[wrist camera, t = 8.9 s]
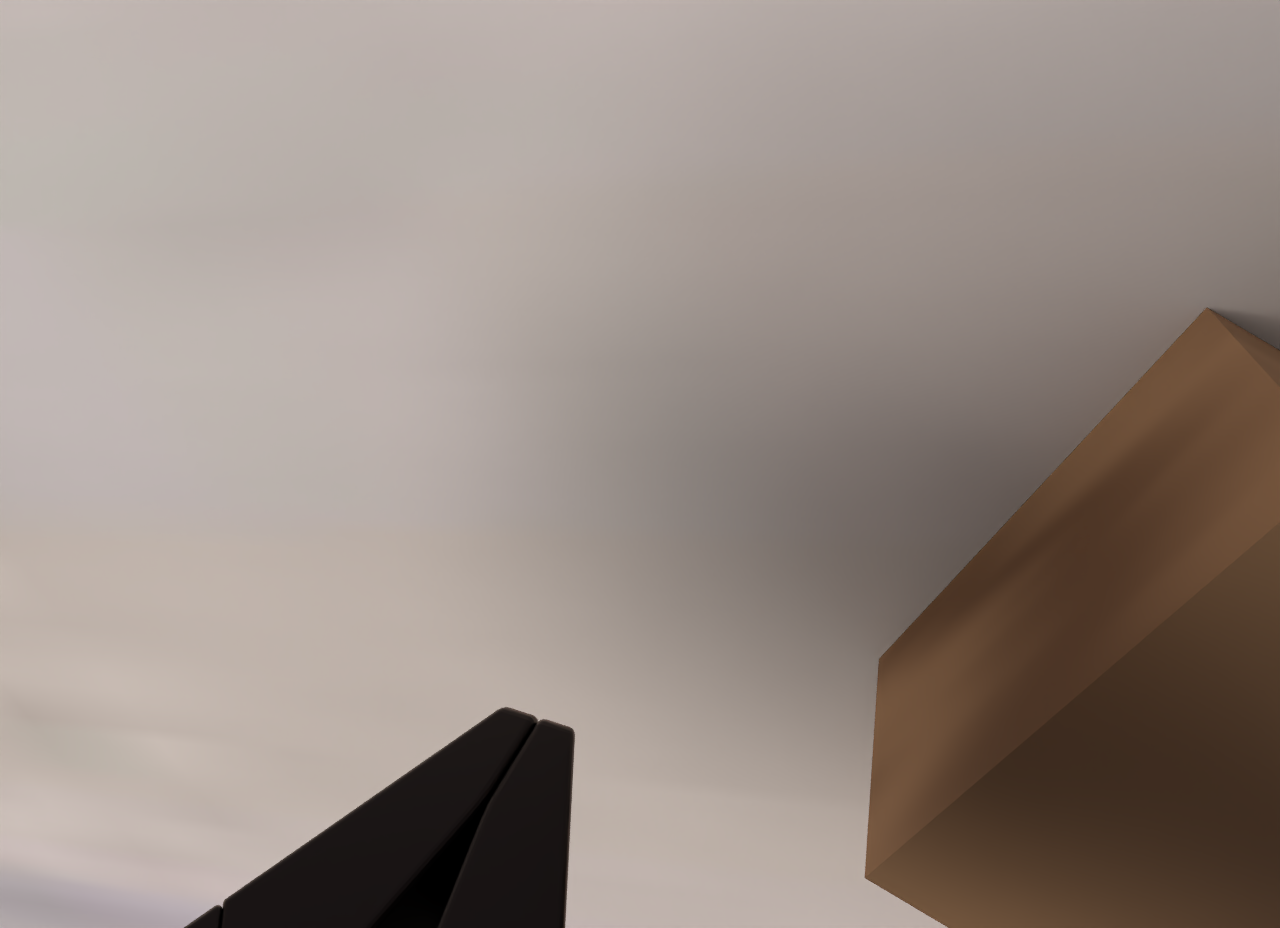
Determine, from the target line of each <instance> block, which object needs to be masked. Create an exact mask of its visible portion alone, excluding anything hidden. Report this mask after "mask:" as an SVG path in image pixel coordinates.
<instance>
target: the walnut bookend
mask: <svg viewBox="0 0 1280 928" xmlns="http://www.w3.org/2000/svg"><path fill="white" fill-rule="evenodd" d="M865 878H866V879H868V880H869V881H871V882H873V883H874V884H876V885H878V886H879V887H881V888H883V889H884V890H886V891H888V892H889V893H891V894H893V895H894V896H896V897H898V898H899V899H901V900H903V901H905V902H906V903H908V904H910V905H911V906H913V907H915V908H916V909H918V910H920V911H921V912H923V913H925V914H926V915H928V916H930V917H931V918H933V919H935V920H936V921H938V922H940V923H941V924H943V925H945V926H947V927H948V928H1280V350H1278V349H1276V348H1275V347H1273V346H1271V345H1269V344H1268V343H1266V342H1264V341H1263V340H1261V339H1259V338H1258V337H1256V336H1254V335H1253V334H1251V333H1249V332H1247V331H1246V330H1244V329H1242V328H1241V327H1239V326H1237V325H1236V324H1234V323H1232V322H1231V321H1229V320H1227V319H1225V318H1224V317H1222V316H1220V315H1219V314H1217V313H1215V312H1214V311H1212V310H1210V309H1209V308H1206V309H1205V310H1204V311H1203V312H1202V313H1201V314H1200V315H1199V317H1198V318H1197V319H1196V320H1195V321H1194V322H1193V323H1192V324H1191V325H1190V326H1189V327H1188V328H1187V329H1186V330H1185V332H1184V333H1183V334H1182V335H1181V336H1180V337H1179V338H1178V339H1177V340H1176V341H1175V342H1174V343H1173V344H1172V345H1171V347H1170V348H1169V349H1168V350H1167V351H1166V352H1165V353H1164V354H1163V355H1162V356H1161V357H1160V358H1159V359H1158V360H1157V362H1156V363H1155V364H1154V365H1153V366H1152V367H1151V368H1150V369H1149V370H1148V371H1147V372H1146V373H1145V374H1144V375H1143V377H1142V378H1141V379H1140V380H1139V381H1138V382H1137V383H1136V384H1135V385H1134V386H1133V387H1132V388H1131V389H1130V391H1129V392H1128V393H1127V394H1126V395H1125V396H1124V397H1123V398H1122V399H1121V400H1120V401H1119V402H1118V403H1117V404H1116V406H1115V407H1114V408H1113V409H1112V410H1111V411H1110V412H1109V413H1108V414H1107V415H1106V416H1105V417H1104V418H1103V419H1102V421H1101V422H1100V423H1099V424H1098V425H1097V426H1096V427H1095V428H1094V429H1093V430H1092V431H1091V432H1090V433H1089V434H1088V436H1087V437H1086V438H1085V439H1084V440H1083V441H1082V442H1081V443H1080V444H1079V445H1078V446H1077V447H1076V448H1075V449H1074V451H1073V452H1072V453H1071V454H1070V455H1069V456H1068V457H1067V458H1066V459H1065V460H1064V461H1063V462H1062V463H1061V465H1060V466H1059V467H1058V468H1057V469H1056V470H1055V471H1054V472H1053V473H1052V474H1051V475H1050V476H1049V477H1048V478H1047V480H1046V481H1045V482H1044V483H1043V484H1042V485H1041V486H1040V487H1039V488H1038V489H1037V490H1036V491H1035V492H1034V493H1033V495H1032V496H1031V497H1030V498H1029V499H1028V500H1027V501H1026V502H1025V503H1024V504H1023V505H1022V506H1021V507H1020V508H1019V510H1018V511H1017V512H1016V513H1015V514H1014V515H1013V516H1012V517H1011V518H1010V519H1009V520H1008V521H1007V522H1006V524H1005V525H1004V526H1003V527H1002V528H1001V529H1000V530H999V531H998V532H997V533H996V534H995V535H994V536H993V537H992V539H991V540H990V541H989V542H988V543H987V544H986V545H985V546H984V547H983V548H982V549H981V550H980V551H979V552H978V554H977V555H976V556H975V557H974V558H973V559H972V560H971V561H970V562H969V563H968V564H967V565H966V566H965V567H964V569H963V570H962V571H961V572H960V573H959V574H958V575H957V576H956V577H955V578H954V579H953V580H952V581H951V582H950V584H949V585H948V586H947V587H946V588H945V589H944V590H943V591H942V592H941V593H940V594H939V595H938V596H937V598H936V599H935V600H934V601H933V602H932V603H931V604H930V605H929V606H928V607H927V608H926V609H925V610H924V611H923V613H922V614H921V615H920V616H919V617H918V618H917V619H916V620H915V621H914V622H913V623H912V624H911V625H910V626H909V628H908V629H907V630H906V631H905V632H904V633H903V634H902V635H901V636H900V637H899V638H898V639H897V640H896V641H895V643H894V644H893V645H892V646H891V647H890V648H889V649H888V650H887V651H886V652H885V653H884V654H883V655H882V656H881V658H880V659H879V666H878V681H877V697H876V712H875V728H874V743H873V758H872V774H871V789H870V805H869V820H868V836H867V851H866V866H865Z"/></svg>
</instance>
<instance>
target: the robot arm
mask: <svg viewBox="0 0 1280 928" xmlns="http://www.w3.org/2000/svg"><path fill="white" fill-rule="evenodd" d="M574 743H575V732H574V730H573V729H572V728H570V727H568V726H565V725H562V724H559V723H555V722H552V721H549V720H545V719H543V720H540V721H539V722H538V720H537V718H536V717H535V716H533V715H531V714H527V713H524V712H521V711H518V710H515V709H512V708H508V707H505V708H501V709H499V710H497V711H495V712H494V713H493V714H491V715H490V716H488V717H487V718H485V719H484V720H483V721H481V722H480V723H478V724H477V725H475V726H474V727H472V728H471V729H470V730H468V731H467V732H465V733H464V734H462V735H461V736H460V737H458V738H457V739H455V740H454V741H452V742H451V743H449V744H448V745H447V746H445V747H444V748H442V749H441V750H439V751H438V752H437V753H435V754H434V755H432V756H431V757H429V758H428V759H426V760H425V761H424V762H422V763H421V764H419V765H418V766H416V767H415V768H414V769H412V770H411V771H409V772H408V773H406V774H405V775H403V776H402V777H401V778H399V779H398V780H396V781H395V782H393V783H392V784H390V785H389V786H388V787H386V788H385V789H383V790H382V791H380V792H379V793H378V794H376V795H375V796H373V797H372V798H370V799H369V800H367V801H366V802H365V803H363V804H362V805H360V806H359V807H357V808H356V809H355V810H353V811H352V812H350V813H349V814H347V815H346V816H344V817H343V818H342V819H340V820H339V821H337V822H336V823H334V824H333V825H332V826H330V827H329V828H327V829H326V830H324V831H323V832H321V833H320V834H319V835H317V836H316V837H314V838H313V839H311V840H310V841H309V842H307V843H306V844H304V845H303V846H301V847H300V848H298V849H297V850H296V851H294V852H293V853H291V854H290V855H288V856H287V857H286V858H284V859H283V860H281V861H280V862H278V863H277V864H275V865H274V866H273V867H271V868H270V869H268V870H267V871H265V872H264V873H263V874H261V875H260V876H258V877H257V878H255V879H254V880H252V881H251V882H250V883H248V884H247V885H245V886H244V887H242V888H241V889H239V890H238V891H237V892H235V893H234V894H232V895H231V896H229V897H228V898H227V899H225V900H224V902H223V909H222V907H221V906H220V905H216V906H214V907H213V908H211V909H210V910H209V911H207V912H206V913H204V914H203V915H202V916H200V917H199V918H197V919H196V920H194V921H193V922H191V923H190V924H189V925H187V926H186V927H184V928H565V920H566V900H567V881H568V861H569V841H570V822H571V802H572V782H573V762H574Z"/></svg>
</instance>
